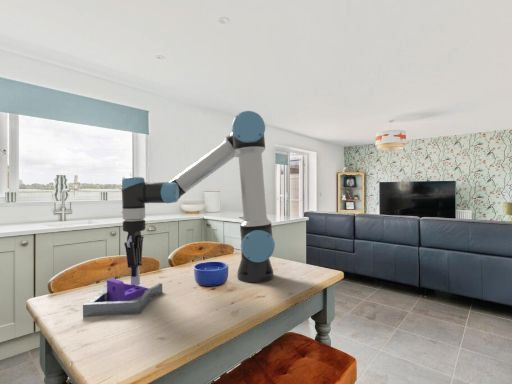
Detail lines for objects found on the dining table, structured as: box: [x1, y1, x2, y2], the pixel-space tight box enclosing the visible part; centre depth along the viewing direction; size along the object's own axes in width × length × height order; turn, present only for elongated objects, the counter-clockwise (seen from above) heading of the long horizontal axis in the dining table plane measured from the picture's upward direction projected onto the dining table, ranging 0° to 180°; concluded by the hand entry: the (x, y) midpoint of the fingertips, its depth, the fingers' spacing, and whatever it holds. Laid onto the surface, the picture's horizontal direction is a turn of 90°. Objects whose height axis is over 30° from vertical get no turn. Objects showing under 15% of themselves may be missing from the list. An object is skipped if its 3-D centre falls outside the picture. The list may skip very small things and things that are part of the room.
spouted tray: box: [82, 282, 163, 318], centre depth 91 cm, size 20×19×4 cm
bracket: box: [106, 278, 149, 302], centre depth 97 cm, size 12×7×7 cm, turn 148°
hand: (135, 284), depth 101 cm, fingers closed
